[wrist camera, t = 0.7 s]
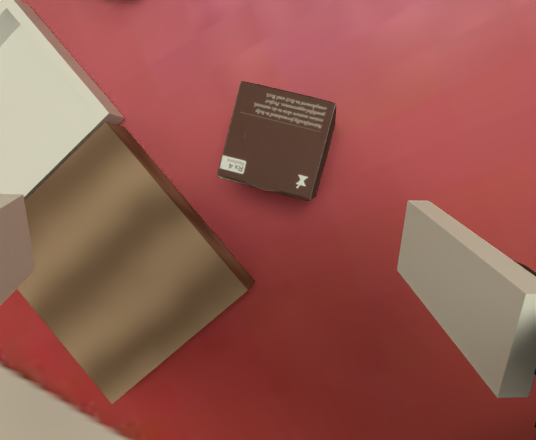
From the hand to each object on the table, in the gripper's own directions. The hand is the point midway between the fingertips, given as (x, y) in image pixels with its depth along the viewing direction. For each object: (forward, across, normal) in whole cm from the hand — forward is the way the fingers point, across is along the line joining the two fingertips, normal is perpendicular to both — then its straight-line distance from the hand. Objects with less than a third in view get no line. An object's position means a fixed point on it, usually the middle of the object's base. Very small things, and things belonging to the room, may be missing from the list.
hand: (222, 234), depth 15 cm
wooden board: (+19, +8, +10) cm, 23 cm away
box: (+18, -4, +1) cm, 19 cm away
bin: (+24, +18, 0) cm, 30 cm away
